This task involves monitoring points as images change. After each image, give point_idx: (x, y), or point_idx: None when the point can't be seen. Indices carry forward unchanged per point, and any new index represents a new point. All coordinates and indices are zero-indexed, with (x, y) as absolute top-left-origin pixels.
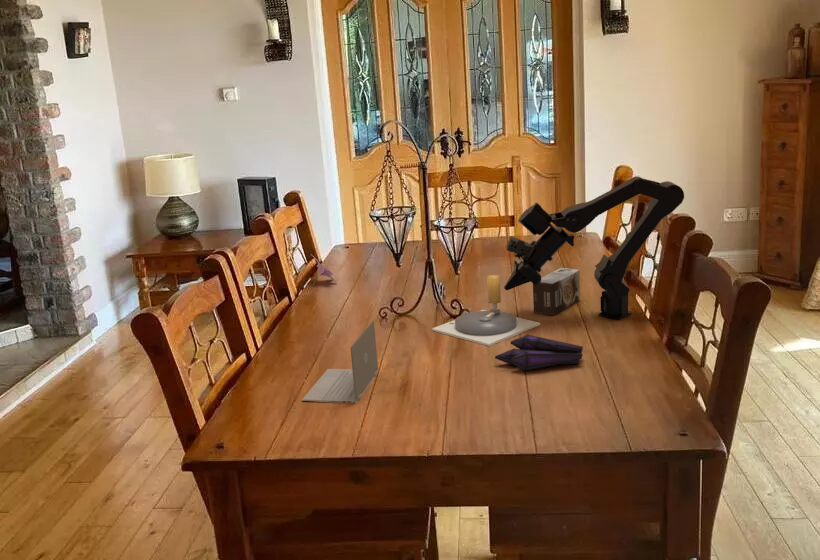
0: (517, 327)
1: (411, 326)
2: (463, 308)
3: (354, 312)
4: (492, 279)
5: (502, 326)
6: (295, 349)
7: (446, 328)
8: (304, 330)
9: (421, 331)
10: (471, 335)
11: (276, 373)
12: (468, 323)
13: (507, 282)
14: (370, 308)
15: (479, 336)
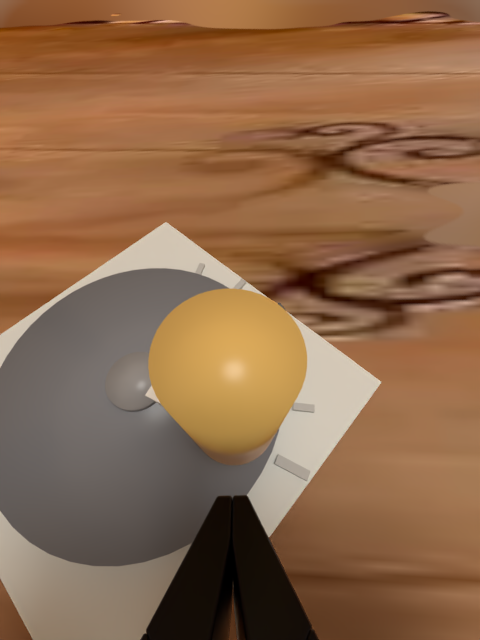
0: (63, 563)
1: (220, 183)
2: (413, 310)
3: (346, 89)
4: (155, 345)
5: (1, 466)
6: (123, 50)
7: (154, 257)
8: (230, 48)
9: (169, 205)
10: None
11: (12, 47)
12: (111, 312)
13: (224, 547)
14: (381, 108)
15: None
